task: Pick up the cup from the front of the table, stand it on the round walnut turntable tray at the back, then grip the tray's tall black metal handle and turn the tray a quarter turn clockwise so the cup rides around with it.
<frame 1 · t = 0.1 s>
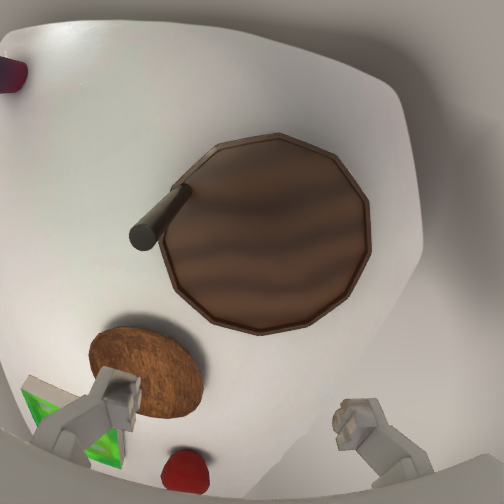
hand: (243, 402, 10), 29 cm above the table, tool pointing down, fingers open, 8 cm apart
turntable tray: (274, 271, 30), point 10 cm above the table, hinge at 0.0°
bowl: (150, 360, 47), on the table
apple: (188, 452, 61), on the table
cup: (17, 77, 27), on the table
green flat block: (79, 420, 57), on the table
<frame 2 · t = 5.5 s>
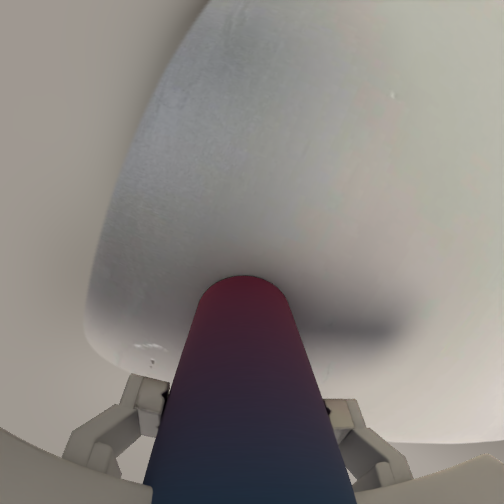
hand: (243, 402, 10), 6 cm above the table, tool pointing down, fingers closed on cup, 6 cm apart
cup: (243, 314, 16), on the table, touching gripper
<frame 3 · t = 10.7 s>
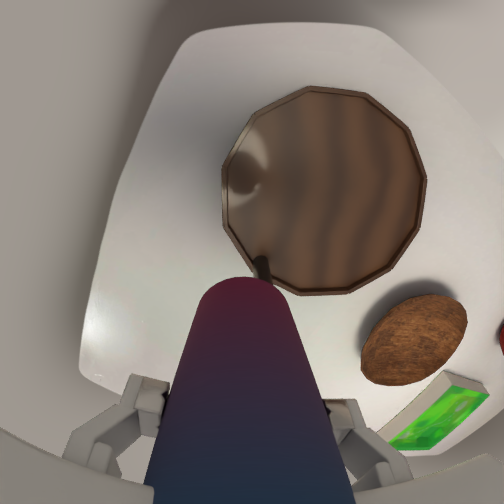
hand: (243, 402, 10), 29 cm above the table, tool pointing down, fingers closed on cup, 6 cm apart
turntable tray: (352, 213, 28), point 10 cm above the table, hinge at 0.0°
bowl: (406, 328, 47), on the table
cup: (243, 314, 16), point 23 cm above the table, touching gripper
green flat block: (432, 409, 60), on the table
when the fingers open (9 cm above the table, at t = 16.1 s): cup stays where it is, resting on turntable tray.
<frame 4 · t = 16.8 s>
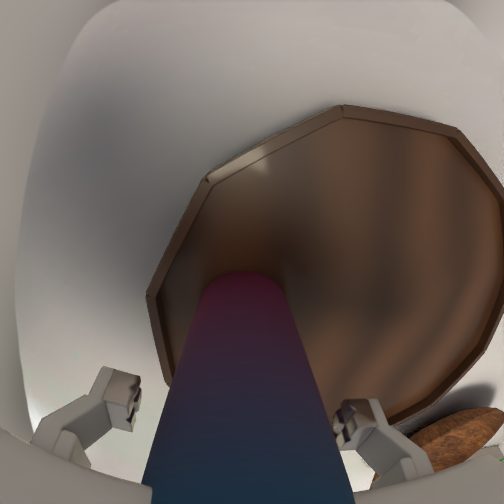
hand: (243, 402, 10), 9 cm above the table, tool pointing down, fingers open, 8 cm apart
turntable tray: (409, 418, 11), point 10 cm above the table, hinge at 0.1°, touching cup
bowl: (431, 432, 30), on the table
cup: (243, 308, 17), point 2 cm above the table, touching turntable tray
green flat block: (442, 477, 43), on the table
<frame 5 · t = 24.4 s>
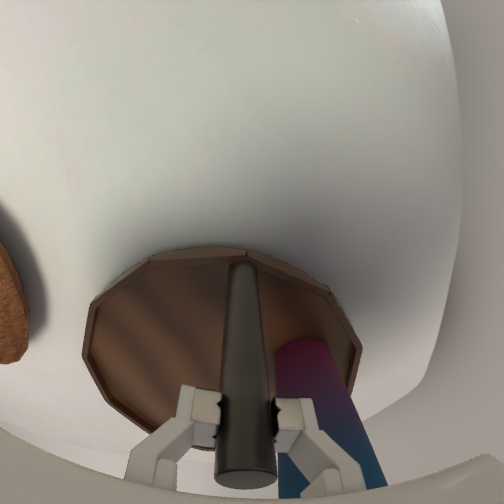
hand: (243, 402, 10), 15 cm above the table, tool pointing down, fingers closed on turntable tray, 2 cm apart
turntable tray: (214, 443, 19), point 10 cm above the table, hinge at 0.1°, touching cup, gripper
cup: (301, 356, 25), point 2 cm above the table, touching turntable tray
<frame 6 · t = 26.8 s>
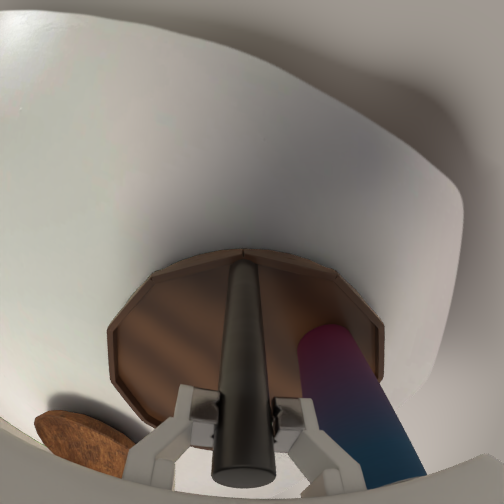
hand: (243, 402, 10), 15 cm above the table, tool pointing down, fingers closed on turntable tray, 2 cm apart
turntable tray: (247, 446, 19), point 10 cm above the table, hinge at 45.8°, touching cup, gripper
bowl: (100, 434, 35), on the table
cup: (324, 345, 25), point 2 cm above the table, touching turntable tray
green flat block: (28, 450, 43), on the table
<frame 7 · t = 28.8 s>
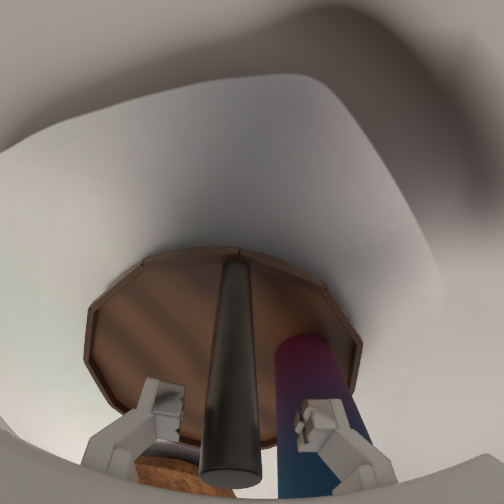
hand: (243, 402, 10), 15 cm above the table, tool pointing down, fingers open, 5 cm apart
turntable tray: (215, 443, 19), point 10 cm above the table, hinge at 87.5°, touching cup
bowl: (177, 468, 39), on the table
cup: (302, 354, 25), point 2 cm above the table, touching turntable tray
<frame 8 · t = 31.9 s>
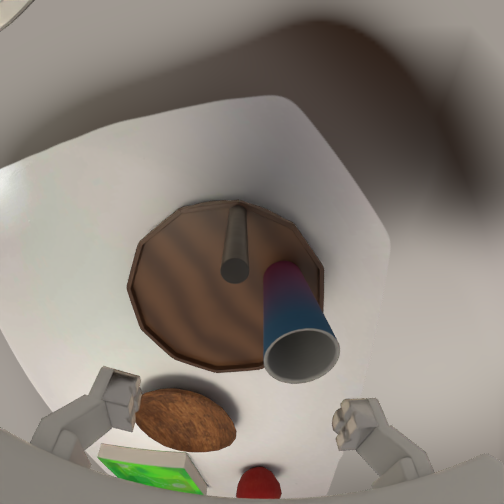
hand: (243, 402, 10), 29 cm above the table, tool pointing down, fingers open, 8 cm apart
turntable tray: (222, 332, 33), point 10 cm above the table, hinge at 87.5°, touching cup
bowl: (186, 407, 53), on the table
apple: (257, 469, 65), on the table
cup: (282, 277, 39), point 2 cm above the table, touching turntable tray
green flat block: (156, 467, 66), on the table
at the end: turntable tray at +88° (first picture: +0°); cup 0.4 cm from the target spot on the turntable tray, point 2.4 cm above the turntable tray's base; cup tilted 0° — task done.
